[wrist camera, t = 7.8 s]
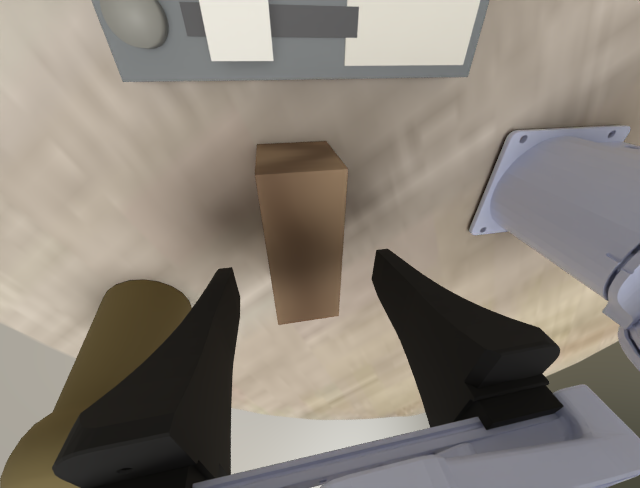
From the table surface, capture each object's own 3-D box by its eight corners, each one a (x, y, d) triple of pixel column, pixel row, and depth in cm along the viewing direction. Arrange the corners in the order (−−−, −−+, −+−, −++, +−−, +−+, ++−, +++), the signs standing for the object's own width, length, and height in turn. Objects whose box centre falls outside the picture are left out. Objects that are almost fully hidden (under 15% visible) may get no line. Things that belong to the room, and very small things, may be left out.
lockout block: (325, 140, 15) (347, 169, 11) (324, 267, 21) (338, 315, 17) (257, 143, 15) (254, 175, 11) (275, 273, 20) (278, 325, 16)
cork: (81, 301, 18) (-84, 520, 10) (152, 267, 18) (45, 467, 9) (146, 340, 22) (70, 526, 13) (207, 314, 21) (169, 489, 13)
